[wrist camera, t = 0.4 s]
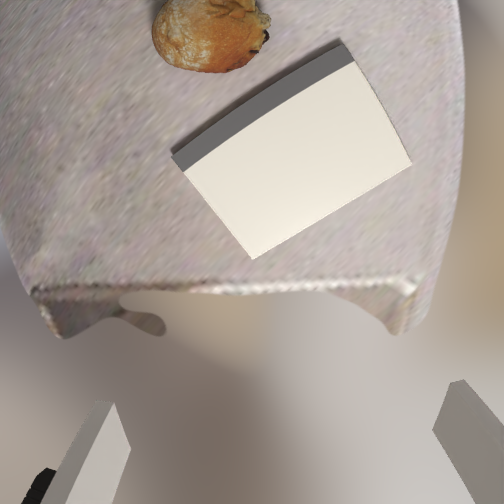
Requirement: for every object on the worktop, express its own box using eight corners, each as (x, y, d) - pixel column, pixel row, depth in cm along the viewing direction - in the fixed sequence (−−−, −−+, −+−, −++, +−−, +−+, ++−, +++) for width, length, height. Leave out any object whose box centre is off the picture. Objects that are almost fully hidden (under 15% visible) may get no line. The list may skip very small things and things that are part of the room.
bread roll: (212, -13, 25) (166, -43, 18) (296, 9, 23) (260, -31, 16) (172, 63, 30) (118, 48, 23) (248, 96, 27) (199, 79, 21)
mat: (341, 44, 25) (342, 43, 24) (409, 163, 30) (412, 164, 30) (172, 155, 31) (170, 157, 30) (253, 256, 36) (252, 260, 36)
